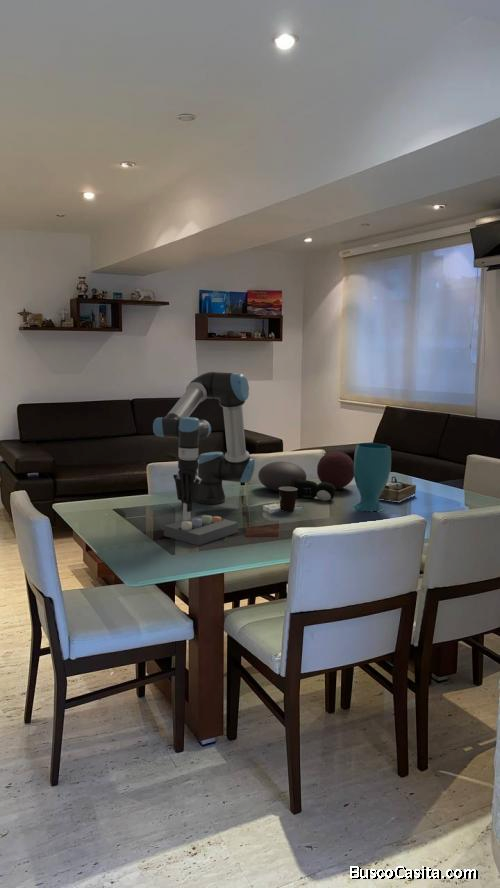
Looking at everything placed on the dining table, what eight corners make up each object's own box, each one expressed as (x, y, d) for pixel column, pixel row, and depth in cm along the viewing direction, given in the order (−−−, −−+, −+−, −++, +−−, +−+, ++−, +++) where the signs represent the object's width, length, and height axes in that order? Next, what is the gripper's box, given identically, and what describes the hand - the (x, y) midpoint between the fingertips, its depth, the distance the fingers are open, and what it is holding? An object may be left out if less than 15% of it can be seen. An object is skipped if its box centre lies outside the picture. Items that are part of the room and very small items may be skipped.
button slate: (189, 528, 262) (189, 519, 262) (196, 526, 265) (196, 517, 265) (197, 530, 260) (197, 521, 259) (203, 528, 263) (204, 519, 262)
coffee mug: (295, 513, 303) (296, 491, 302) (276, 511, 305) (277, 489, 303) (298, 507, 314) (299, 486, 313) (280, 505, 316) (281, 484, 314)
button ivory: (179, 531, 257) (179, 522, 257) (186, 529, 260) (186, 520, 260) (186, 533, 255) (187, 524, 254) (193, 531, 258) (194, 522, 258)
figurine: (291, 486, 329) (331, 491, 322) (297, 474, 336) (336, 479, 329) (293, 500, 334) (332, 505, 327) (299, 489, 341) (337, 493, 334)
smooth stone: (291, 498, 331) (292, 468, 329) (248, 490, 344) (249, 462, 342) (313, 489, 352) (315, 461, 350) (272, 483, 365) (273, 456, 363)
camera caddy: (372, 498, 337) (372, 486, 336) (389, 492, 354) (390, 480, 353) (398, 503, 329) (399, 491, 328) (415, 496, 346) (416, 485, 345)
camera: (391, 500, 336) (392, 480, 334) (377, 497, 341) (379, 478, 339) (405, 495, 347) (407, 476, 346) (392, 493, 352) (394, 474, 350)
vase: (343, 507, 316) (347, 444, 312) (363, 502, 329) (367, 441, 324) (374, 515, 305) (379, 450, 300) (394, 509, 318) (399, 446, 313)
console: (163, 535, 261) (164, 525, 260) (203, 523, 280) (204, 514, 280) (199, 545, 251) (199, 535, 250) (238, 532, 270) (238, 522, 269)
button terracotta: (209, 526, 272) (209, 517, 271) (215, 524, 275) (215, 515, 275) (216, 528, 270) (217, 519, 269) (223, 526, 273) (223, 517, 272)
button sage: (199, 525, 267) (199, 516, 266) (206, 523, 270) (206, 514, 270) (207, 527, 265) (207, 518, 264) (213, 525, 268) (213, 516, 267)
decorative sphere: (316, 483, 368) (318, 447, 365) (353, 486, 365) (355, 449, 362) (315, 491, 349) (317, 453, 345) (353, 494, 346) (356, 455, 343)
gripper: (168, 457, 254) (167, 517, 258) (194, 462, 247) (192, 524, 250) (182, 455, 260) (180, 514, 264) (207, 459, 253) (205, 520, 256)
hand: (186, 519), depth 257 cm, fingers closed
